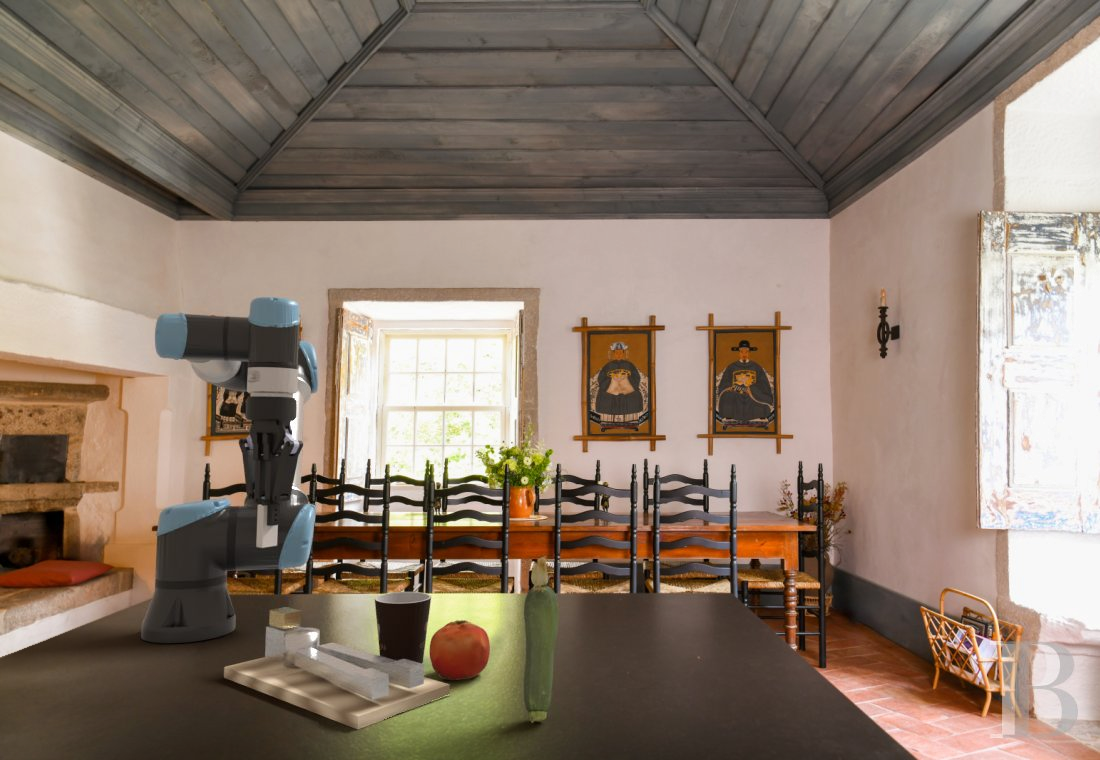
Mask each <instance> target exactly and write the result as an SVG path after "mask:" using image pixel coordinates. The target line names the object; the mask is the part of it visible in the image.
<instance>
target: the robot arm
mask: <svg viewBox="0 0 1100 760" xmlns="http://www.w3.org/2000/svg"><path fill="white" fill-rule="evenodd" d="M249 304H250V305H249V315H248V317H247V316H222V315H221V316H220V315H203V314H193V313H192V314H191V313H190V314H189V313H183V312H178V313H162V314H160V315H159V316H158V317H157V319H156V322H155V328H154V329H155V330H154V346H155V352H156V354H157V355H158V357H160V358H162V359H169V360H170V359H172V360H175V361H178V360H186V361H187V362H188V363H189V364H190V366H191V368H192V370H193V372H194V374H195V375H196V376H197V377H198V378H200V379H201V380H202V381H205V382H206V383H209V384H211V385H213V386H216V387H219V388H223V389H225V390H230V391H234V392H235V391H236V392H247V393H248V394H250V396H248V397H247V398H246V399H245V418H246V420H248V421H251V425H250V428H249V435H248V436H247V437H245V438H239V440H238V445H239V448H240V451H241V453H242V464H243V472H244V473H243V474H244V481H245V489H246V490H245V491H246V496H245V498H244V501H243V502H244V503H243V505H233V506H231V505H232V502H231V501H230V498H227V497H225V498H224V497H223V498H212V499H203V500H198V501H192V502H191V501H190V502H184V503H180V504H179V503H178V504H174V505H170V506H168V507H167V506H166V507H165V508H164V509H162V511H161V512H160V513H159V514H158V515H159V516H158V524H157V531H156V533H155V536H156V554H155V555H156V556H155V557H156V559H155V575H154V578H155V579H154V590H153V591H154V592H153V594H152V597H151V600H150V602H149V605H148V607H147V610H146V612H145V615H144V618H143V620H142V623H141V628H140V631H141V633H140V639H142V640H143V641H146V642H150V643H156V644H181V643H183V644H184V643H193V642H199V641H206V640H211V639H215V638H220V637H223V636H226V635H229V634H230V633H232V632H233V631H234V630H235V629H236V619H237V617H236V613H235V609H234V607H233V604H232V600H231V597H230V593H229V590H228V584H227V582H228V581H227V580H228V579H227V578H228V572H232V571H235V572H236V571H237V572H238V571H254V570H255V571H256V570H257V571H258V570H280V571H281V570H285V569H292V568H300V567H303V566H304V565H306V563H308V561H309V558H310V554H311V550H312V549H311V548H312V545H313V538H314V531H315V530H314V529H315V528H314V527H315V523H316V513H317V512H316V511H317V507H316V505H314V504H312V503H309V497H308V494H306V492H304V491H303V490H302V488H301V485H302V461H303V460H302V459H303V458H302V457H303V456H302V455H303V453H302V452H303V447H304V442H303V425H304V424H303V423H304V422H303V421H304V405H305V404H306V403H307V402H308V401H309V400H310V398H311V395H312V394H315V393H317V392H318V388H319V372H318V360H317V359H318V358H317V353H316V349H315V347H314V346H315V345H313V344H312V343H311V342H309V341H303V340H301V339H300V323H301V317H300V304H299V303H298V302H297V301H295V300H293V299H291V298H283V297H273V296H272V297H271V296H270V297H269V296H265V297H264V296H263V297H256V298H254V299H252V300H251V301H250V303H249Z"/></svg>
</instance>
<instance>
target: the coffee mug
mask: <svg viewBox="0 0 1100 760" xmlns="http://www.w3.org/2000/svg"><path fill="white" fill-rule="evenodd" d="M431 603H432V595H430V594H429V593H426V592H418V591H399V592H398V591H397V592H388V593H383V594H380V595H377V596H375V597H374V605H375V614H376V615H375V618H376V627H377V629H376V630H377V639H378V640H377V641H378V649H379V656H382V657H386V658H390V659H393V660H397V661H398V660H401V659H407V660H410V661H414V662H418V663H421V664H422V663H423V664H424V657H425V647H426V642H427V633H428V625H429V617H430V610H431Z"/></svg>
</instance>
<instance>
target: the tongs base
mask: <svg viewBox="0 0 1100 760" xmlns="http://www.w3.org/2000/svg"><path fill="white" fill-rule="evenodd" d="M265 629H266V630H265V652H264V657H267V658H270V659H273V660H276V661H279V662H282V663H283V666H284V667H287V668H299V667H297V666H295V651H296V650H301V649H306V648H313V649H316V650H318V651H321V652H323V653H326V654H328V655H331V656H333V657H336V658H338V659H341V660H343V661H346V662H348V663H351V664H353V665H356V666H358V667H361V668H363V669H368V668H373V669H376V670H378V671H381V672H384V673H386V674H389V682H390V683H393V684H396V685H400V686H403V687H406V688H409V689H410V688H413V687H416V686H419V685H422V684H424V677H425V664H424V663H423V664H421V663H418V662H414V661H410V660H407V659H401V660H398V661H397V660H393V659H390V658H386V657H382V656H380V654H379V655H378V654H375V653H372V652H368V651H364V650H361V649H358V648H357V649H356V648H355V647H349V646H346V645H342V644H339V643H336V642H329V643H328V642H327V643H325V644H320V635H321V634H320V632H321V631H320V629H319V628H315V627H302V626H296V627H291V628H286V629H282V628H279V627H275V626H272V625H268V626H265Z"/></svg>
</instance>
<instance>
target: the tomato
mask: <svg viewBox="0 0 1100 760" xmlns="http://www.w3.org/2000/svg"><path fill="white" fill-rule="evenodd" d="M490 652H491V644H490V638H489V634H488V633H487V631H486V630H485V628H482V627H480V626H479V625H477V624H474V623H472V622H470V621H468V620H463V619H462V620H458V619H457V620H454V621H450V622H448V623H446V624H445V625H443V626H442V627H441V628H439V629H437V630H436V631H435V632H434V633H433V635H432V637H431V639H430V643H429V659H430V663H431V667H432V669H433V670H434V671H435V673H436V674H437V675H438V676H439V677H440V678H441V679H443V680H451V681H457V680H467V679H471V678H474V677H477V676H478V675H479V674H480V673H482V671H483V670H485V668H486V666H487V665H488V662H489V659H490V654H491V653H490Z"/></svg>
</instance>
